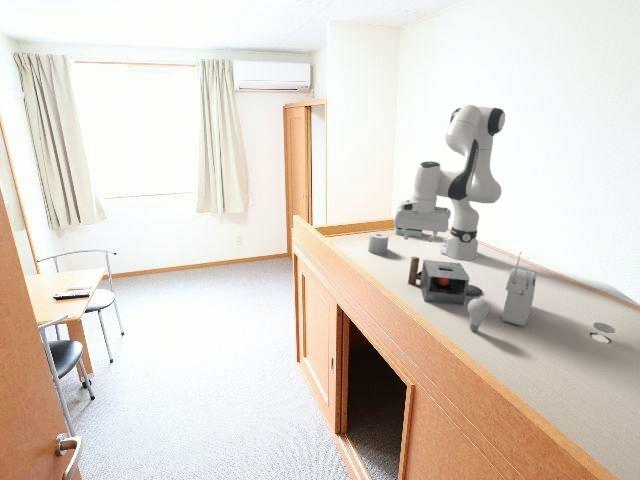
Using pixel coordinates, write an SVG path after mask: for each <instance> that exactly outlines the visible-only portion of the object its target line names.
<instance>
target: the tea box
mask: <svg viewBox="0 0 640 480" xmlns="http://www.w3.org/2000/svg"><path fill="white" fill-rule="evenodd" d="M399 208H400V206H398V207H397V210H398V209H399ZM405 233H406V234H408V237H416V238H417V237H418V238H422V234H423V230H416V229H406V231H405ZM394 234H395V235H401V236H404V233H403V231H402V228H396V227H395V226H394Z"/></svg>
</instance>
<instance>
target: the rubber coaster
mask: <svg viewBox="0 0 640 480" xmlns="http://www.w3.org/2000/svg"><path fill="white" fill-rule="evenodd" d="M482 295H483V290H482V289H481V288H480V287H478V286H476V285H472V284H470V283H468V288H467V293H466V296H468V297H480V296H482Z"/></svg>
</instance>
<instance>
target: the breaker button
mask: <svg viewBox="0 0 640 480" xmlns="http://www.w3.org/2000/svg"><path fill="white" fill-rule="evenodd" d="M437 283H438V284H441V285H448V283H449V278H442V277H438V280H437Z"/></svg>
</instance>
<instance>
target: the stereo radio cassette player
mask: <svg viewBox="0 0 640 480" xmlns="http://www.w3.org/2000/svg"><path fill="white" fill-rule="evenodd" d="M521 254H522V252H521V251H519V256H518V259H517V262H516V264H515V265H516V266H515V268H513V267H512V268H511V271H510V274H509V276H508V277H509V278H508V281H507V284H506V286H505V290H506V291H507V295H506V300H505V304H504V307H503V312H502V315H501V321H503V322H507V323H509V324H513V325H517V326H518V325H519V327H523V326H526V324H527V321H528V319H529V316H530V312H531V310H532V305H533V301H534V296H535V295H534V294H535V290H536V289H535V288H536V287H535V286H536V280H537V274H536V273H535V272H534V271H529V270H525V269H520V268H518V267H519V263H520V259H521Z"/></svg>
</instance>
